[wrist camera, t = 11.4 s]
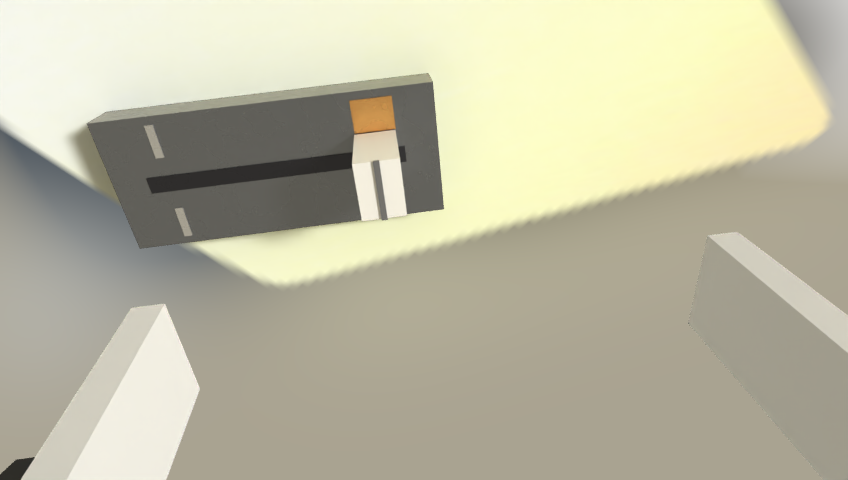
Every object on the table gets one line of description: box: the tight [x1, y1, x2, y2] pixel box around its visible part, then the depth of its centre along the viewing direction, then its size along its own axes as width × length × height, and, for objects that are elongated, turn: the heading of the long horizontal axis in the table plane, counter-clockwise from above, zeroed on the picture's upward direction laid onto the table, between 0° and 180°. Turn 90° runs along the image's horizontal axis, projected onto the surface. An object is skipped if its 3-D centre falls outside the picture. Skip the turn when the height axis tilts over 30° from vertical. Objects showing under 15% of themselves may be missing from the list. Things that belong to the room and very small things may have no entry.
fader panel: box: [87, 73, 444, 248], centre depth 40 cm, size 10×24×3 cm, turn 96°
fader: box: [352, 130, 407, 221], centre depth 36 cm, size 4×3×6 cm
